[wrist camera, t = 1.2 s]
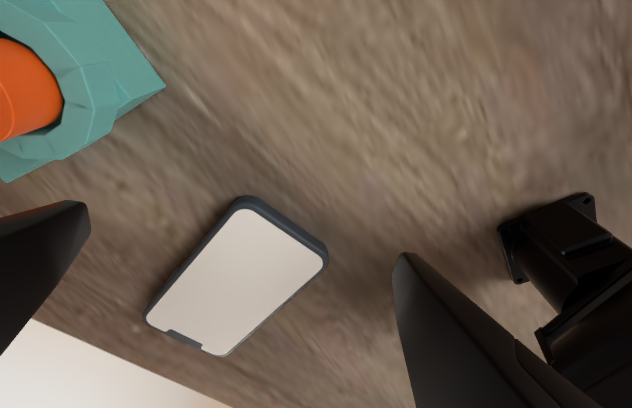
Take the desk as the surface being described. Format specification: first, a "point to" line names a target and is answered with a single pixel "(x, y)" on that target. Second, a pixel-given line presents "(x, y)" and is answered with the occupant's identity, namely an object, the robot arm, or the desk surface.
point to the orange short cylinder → (25, 91)
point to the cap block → (74, 76)
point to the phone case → (236, 278)
